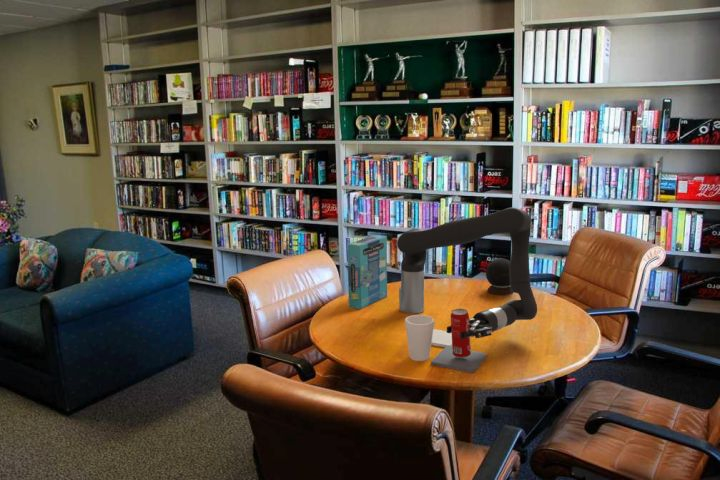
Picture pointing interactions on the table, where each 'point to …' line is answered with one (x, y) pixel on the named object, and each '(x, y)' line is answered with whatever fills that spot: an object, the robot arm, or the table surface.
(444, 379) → the table surface
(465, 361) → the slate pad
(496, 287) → the ball on round base
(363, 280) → the game box
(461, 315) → the beverage can
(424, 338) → the foam cup
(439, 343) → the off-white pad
